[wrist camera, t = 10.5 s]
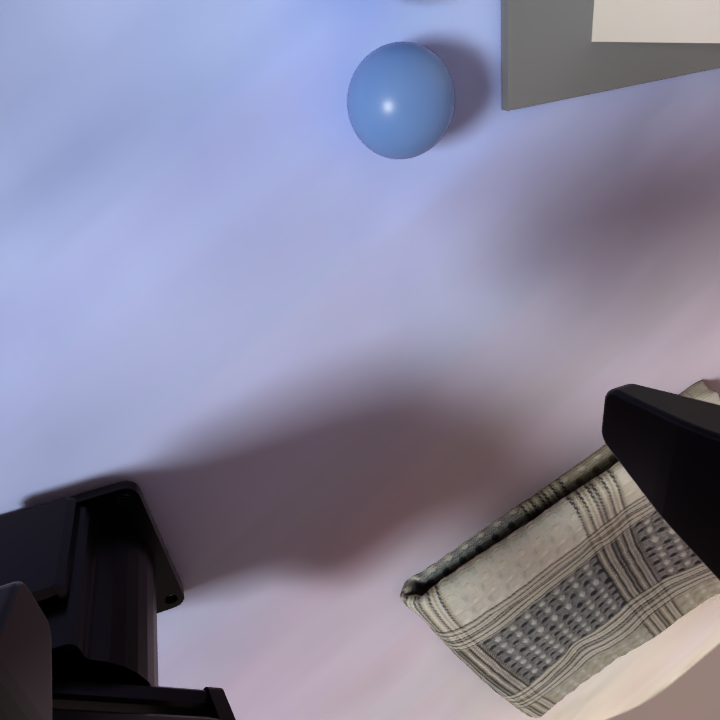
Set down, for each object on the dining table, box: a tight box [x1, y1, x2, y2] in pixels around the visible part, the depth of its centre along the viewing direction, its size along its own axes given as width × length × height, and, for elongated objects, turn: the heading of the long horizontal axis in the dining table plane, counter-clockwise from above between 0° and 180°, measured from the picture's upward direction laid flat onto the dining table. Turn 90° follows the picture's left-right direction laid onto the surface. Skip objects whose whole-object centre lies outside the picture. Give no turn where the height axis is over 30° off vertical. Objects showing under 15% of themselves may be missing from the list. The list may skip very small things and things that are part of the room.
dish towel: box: [400, 381, 720, 718], centre depth 32 cm, size 19×18×3 cm
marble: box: [347, 42, 455, 159], centre depth 16 cm, size 3×3×3 cm
